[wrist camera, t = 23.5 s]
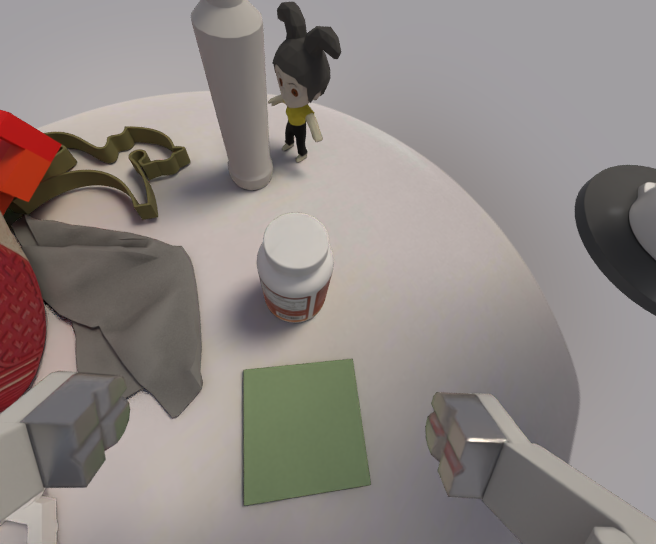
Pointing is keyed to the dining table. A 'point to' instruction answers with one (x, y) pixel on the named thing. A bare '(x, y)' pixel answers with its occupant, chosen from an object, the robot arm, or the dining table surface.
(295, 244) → the pill bottle
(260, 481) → the green square mat
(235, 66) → the bottle
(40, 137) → the building blocks
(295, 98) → the toy
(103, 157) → the cookie cutter
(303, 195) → the dining table surface
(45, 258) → the cloth
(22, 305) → the sneaker
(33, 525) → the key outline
